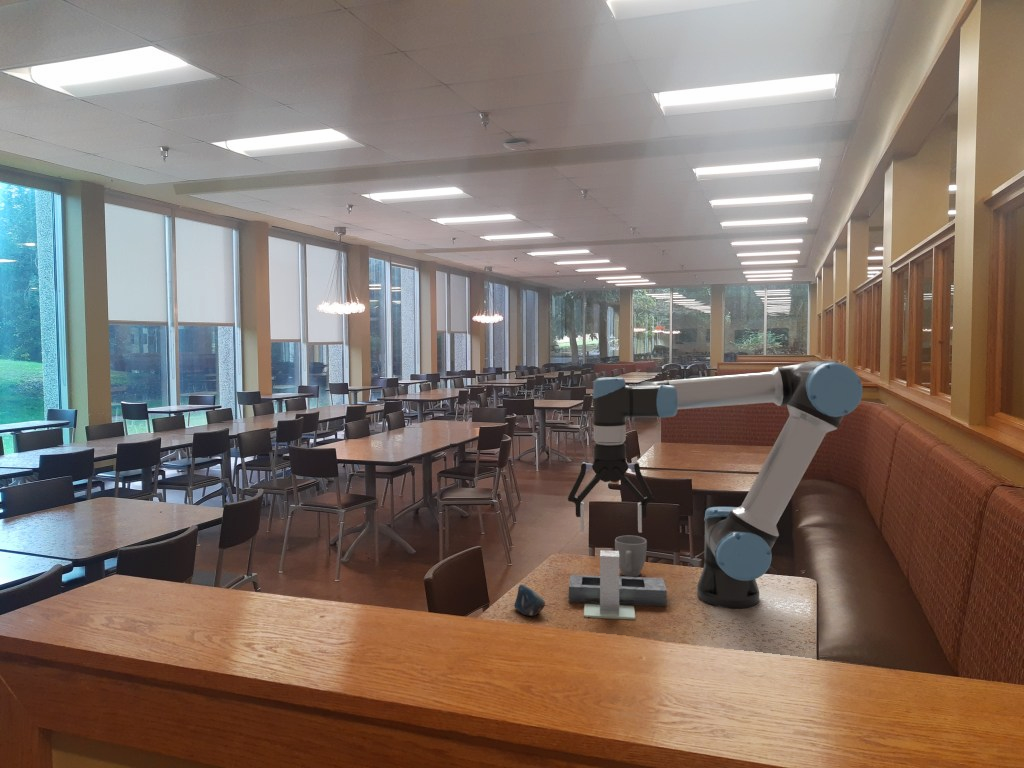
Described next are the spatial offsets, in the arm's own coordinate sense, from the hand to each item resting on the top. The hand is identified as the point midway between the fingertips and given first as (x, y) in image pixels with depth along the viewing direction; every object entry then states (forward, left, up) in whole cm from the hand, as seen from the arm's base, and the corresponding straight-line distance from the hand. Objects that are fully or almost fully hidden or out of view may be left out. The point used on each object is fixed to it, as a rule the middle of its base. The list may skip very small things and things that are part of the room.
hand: (611, 530), depth 164 cm
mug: (-6, -27, -20) cm, 35 cm away
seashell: (+19, +1, -20) cm, 28 cm away
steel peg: (0, 0, -20) cm, 20 cm away
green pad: (0, 0, -20) cm, 20 cm away
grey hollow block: (-2, -10, -20) cm, 22 cm away
